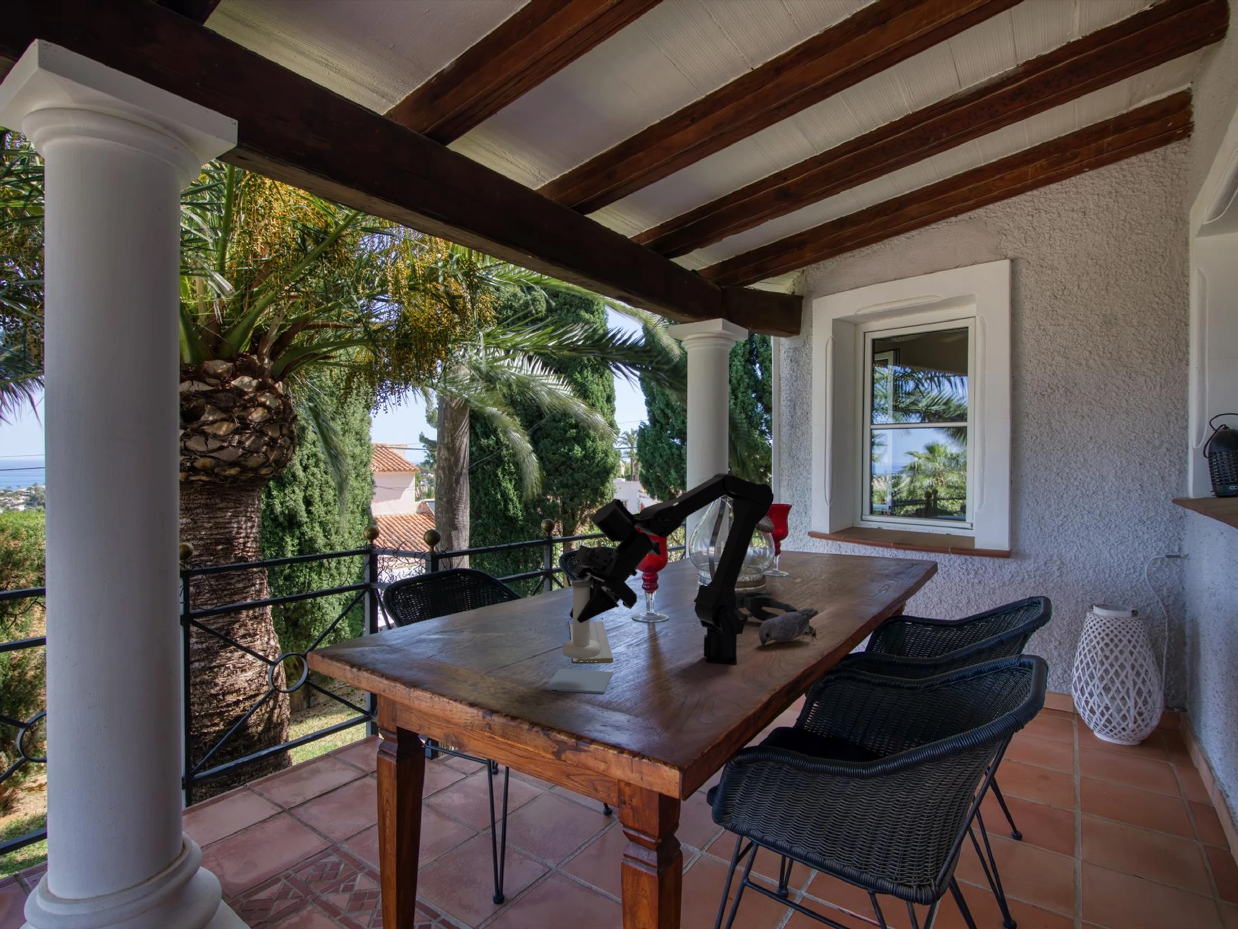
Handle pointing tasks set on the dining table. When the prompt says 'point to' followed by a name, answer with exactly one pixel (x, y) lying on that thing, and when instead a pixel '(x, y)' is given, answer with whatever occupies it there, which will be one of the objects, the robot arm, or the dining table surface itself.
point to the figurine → (756, 602)
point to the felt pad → (580, 681)
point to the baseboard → (601, 637)
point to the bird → (786, 626)
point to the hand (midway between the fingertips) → (574, 619)
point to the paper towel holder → (581, 625)
